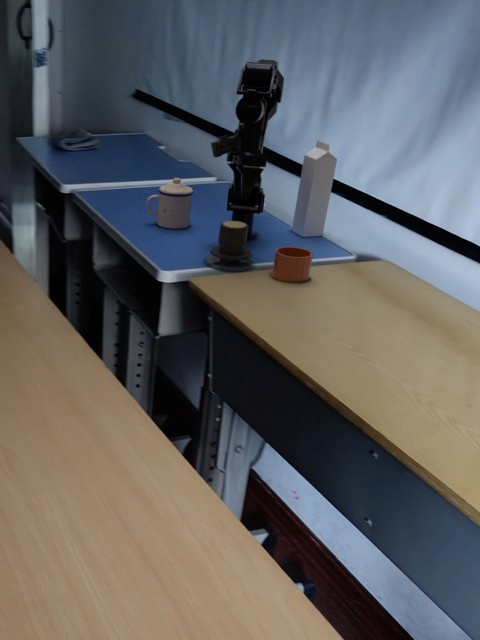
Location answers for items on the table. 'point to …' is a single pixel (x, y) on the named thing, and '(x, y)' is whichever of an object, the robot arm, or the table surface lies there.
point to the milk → (314, 191)
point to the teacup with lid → (173, 205)
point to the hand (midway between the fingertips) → (240, 197)
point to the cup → (292, 264)
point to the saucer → (219, 265)
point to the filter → (232, 242)
